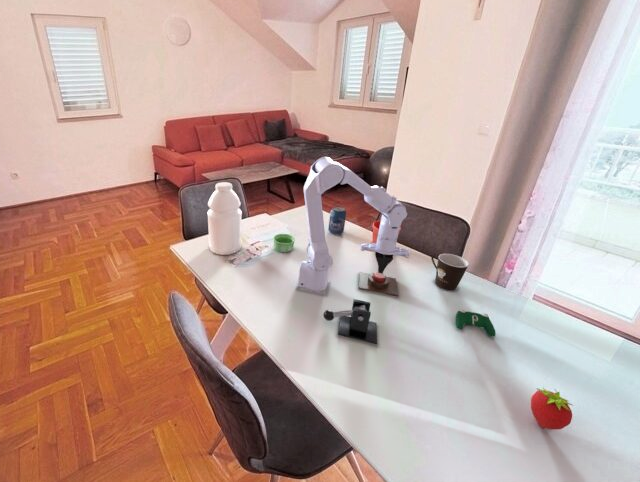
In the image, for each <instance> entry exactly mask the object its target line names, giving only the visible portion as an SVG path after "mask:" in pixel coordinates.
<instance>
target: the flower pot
mask: <svg viewBox="0 0 640 482" xmlns="http://www.w3.org/2000/svg"><path fill="white" fill-rule="evenodd" d="M380 223H381V220H376V221H374V222H373V223H372V244H376V243H377V238H378V233H379V228H380ZM401 230H402V227H401V226H400V229H399V233H398V236H399V235H400V232H401Z"/></svg>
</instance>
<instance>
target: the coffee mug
mask: <svg viewBox="0 0 640 482" xmlns="http://www.w3.org/2000/svg"><path fill="white" fill-rule="evenodd" d="M436 256H437V264H436V262H435V259H434V257H436ZM431 262H432V265H433V266H434V268H435V269H436V272H435V278H434V284H435V285H436V286H437V287H438V288H440V289H442V290H445V291H450V292H453V291H457V288H458V286H459V285H460V282H461V281H462V279H463V277H464V275H465V273H466V272H467V269H468V267H469V265H470V263H469V261H468V260H466V258H464V257H462V256H459V255H456V254H452V253H441V254H438V253H432V254H431Z"/></svg>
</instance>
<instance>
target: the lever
mask: <svg viewBox="0 0 640 482" xmlns="http://www.w3.org/2000/svg"><path fill="white" fill-rule="evenodd" d="M355 308H356V309H360V310H365V311H367V309H366V307H365V305H360V306H355ZM352 312H353V310H352V309H349V310H341V311H333V310H330V309H327V310H325V311H324V312H323V318H324V319H325V321H328V322H331V321H333V320H334V319H335V318H340V317H341V316H349V317H351V315H352Z"/></svg>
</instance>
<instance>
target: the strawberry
mask: <svg viewBox="0 0 640 482" xmlns="http://www.w3.org/2000/svg"><path fill="white" fill-rule="evenodd" d="M536 390H537V391H535V393H533V394H532V396H531V397H530V409H531V413H532V414H533V418H534V419H535V421H536V422H537V425H538V426H539V428H540V429H544V430H545V429H546V430H554V431H555V430H557V431H558V430H563V429H564V428H566V427H568V426H569V425H571V422H572V419H573V412H572V409H571V407H570V406H573V404H572V403H570V402H569V400H568V399H565V398H563V397H561V392H560V391H557V390H556V389H554V391H555V392H553V391H550V390H547V389H545V388H544V387H543V388H542V389H541V388H538V387H536Z"/></svg>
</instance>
